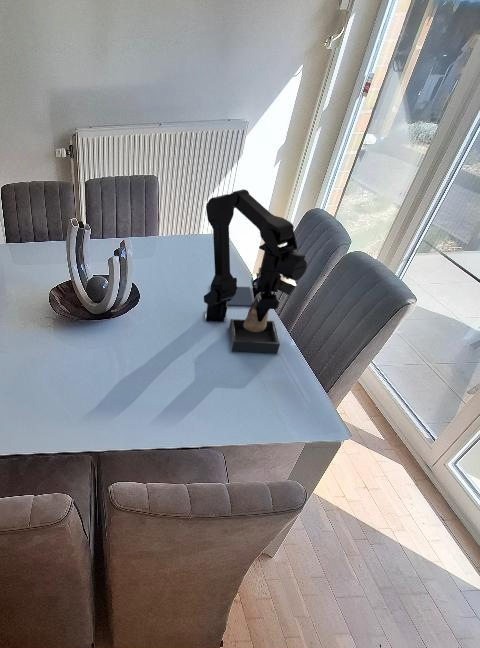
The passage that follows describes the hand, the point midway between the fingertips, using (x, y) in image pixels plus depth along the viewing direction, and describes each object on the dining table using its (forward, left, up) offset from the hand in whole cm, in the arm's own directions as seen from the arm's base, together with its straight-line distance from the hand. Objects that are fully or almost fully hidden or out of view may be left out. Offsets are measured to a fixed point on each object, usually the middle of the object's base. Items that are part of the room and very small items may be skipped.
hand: (258, 315), depth 149 cm
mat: (-5, +32, -10) cm, 34 cm away
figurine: (0, +1, -4) cm, 5 cm away
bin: (0, 0, -10) cm, 10 cm away
